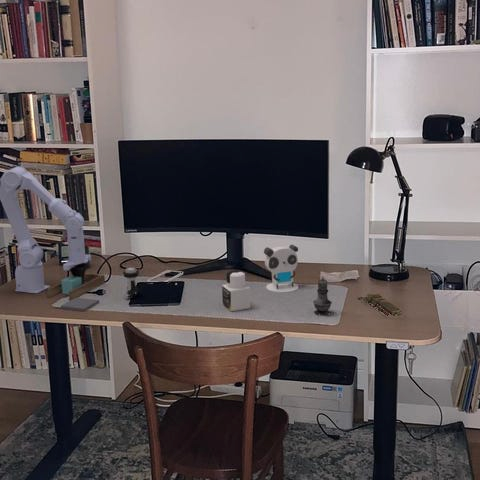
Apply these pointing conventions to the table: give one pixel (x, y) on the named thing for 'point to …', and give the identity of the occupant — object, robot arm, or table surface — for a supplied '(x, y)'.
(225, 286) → the medicine bottle
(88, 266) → the supplement bottle
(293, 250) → the panda figurine
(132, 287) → the push button
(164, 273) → the phone case
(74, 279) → the block
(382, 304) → the olive brown jagged slab
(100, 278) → the channel
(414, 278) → the table surface
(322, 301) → the dark grey chess piece
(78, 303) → the pad
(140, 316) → the table surface
